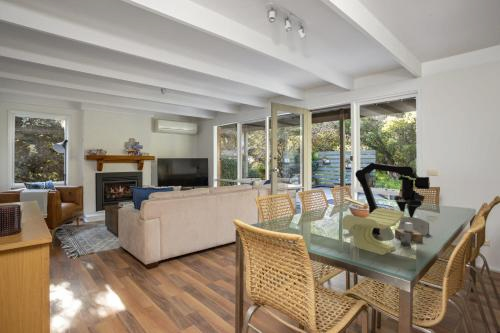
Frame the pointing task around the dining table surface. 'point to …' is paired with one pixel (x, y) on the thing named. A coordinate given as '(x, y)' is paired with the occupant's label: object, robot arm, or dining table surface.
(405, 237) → the cylinder
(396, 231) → the socket block
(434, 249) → the dining table surface
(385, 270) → the dining table surface
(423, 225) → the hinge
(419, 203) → the robot arm
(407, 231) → the square bit
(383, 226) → the slatted curved stool
